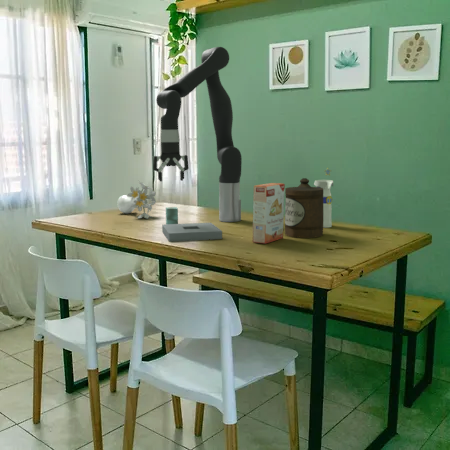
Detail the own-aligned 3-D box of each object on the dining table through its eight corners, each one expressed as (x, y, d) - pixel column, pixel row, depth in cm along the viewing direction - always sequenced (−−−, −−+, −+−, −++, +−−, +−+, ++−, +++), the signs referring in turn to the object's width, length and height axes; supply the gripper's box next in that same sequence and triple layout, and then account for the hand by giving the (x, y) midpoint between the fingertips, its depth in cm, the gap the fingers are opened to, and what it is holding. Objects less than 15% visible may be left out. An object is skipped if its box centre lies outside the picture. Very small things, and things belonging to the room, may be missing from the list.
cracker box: (266, 244, 198) (267, 186, 194) (251, 242, 201) (252, 185, 198) (284, 238, 209) (285, 182, 206) (270, 236, 213) (271, 182, 209)
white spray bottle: (337, 226, 235) (339, 167, 231) (323, 228, 230) (325, 168, 226) (322, 223, 241) (324, 166, 237) (308, 225, 236) (310, 167, 232)
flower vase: (119, 227, 273) (142, 220, 253) (107, 191, 271) (129, 182, 251) (141, 220, 280) (165, 213, 260) (129, 185, 279) (153, 175, 259)
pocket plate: (211, 229, 227) (210, 222, 227) (222, 238, 208) (222, 231, 208) (162, 231, 223) (162, 224, 222) (169, 241, 204) (168, 233, 203)
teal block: (176, 227, 234) (176, 207, 233) (178, 228, 230) (177, 208, 229) (166, 227, 233) (165, 207, 232) (167, 229, 229) (166, 208, 228)
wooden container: (278, 232, 221) (279, 177, 218) (311, 230, 226) (312, 176, 223) (295, 239, 207) (296, 180, 204) (330, 236, 212) (331, 179, 209)
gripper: (185, 140, 231) (186, 179, 234) (151, 141, 227) (152, 180, 230) (188, 140, 224) (189, 181, 226) (153, 141, 220) (155, 182, 223)
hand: (171, 180), depth 228 cm, fingers open, 8 cm apart
